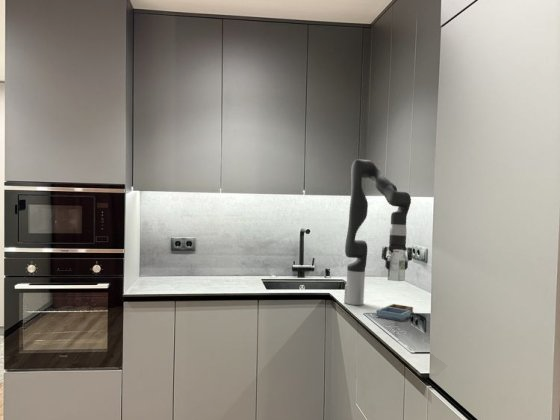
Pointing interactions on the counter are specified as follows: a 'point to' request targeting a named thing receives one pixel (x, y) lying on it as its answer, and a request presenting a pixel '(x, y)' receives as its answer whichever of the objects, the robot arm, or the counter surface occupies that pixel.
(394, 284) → the counter surface
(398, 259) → the syrup box
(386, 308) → the slate tray
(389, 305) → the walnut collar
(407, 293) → the counter surface
